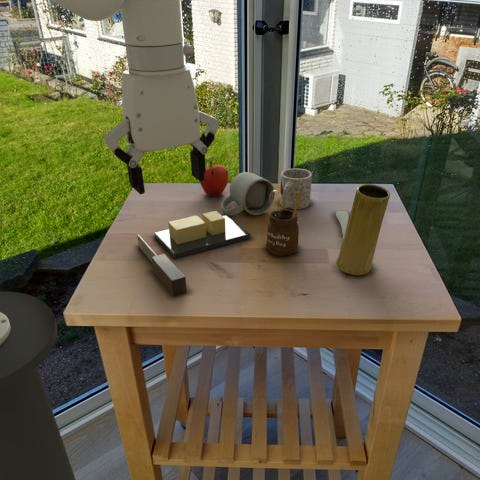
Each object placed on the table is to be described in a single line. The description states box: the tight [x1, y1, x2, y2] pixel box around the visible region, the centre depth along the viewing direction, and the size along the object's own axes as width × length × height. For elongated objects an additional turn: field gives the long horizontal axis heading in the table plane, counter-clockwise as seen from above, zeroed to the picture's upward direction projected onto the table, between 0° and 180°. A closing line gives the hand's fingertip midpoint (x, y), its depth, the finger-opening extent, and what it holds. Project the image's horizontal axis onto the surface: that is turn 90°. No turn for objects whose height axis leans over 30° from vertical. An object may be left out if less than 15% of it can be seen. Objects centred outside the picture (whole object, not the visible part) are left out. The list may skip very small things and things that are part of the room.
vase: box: [335, 183, 391, 276], centre depth 83 cm, size 6×6×14 cm
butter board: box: [154, 214, 251, 259], centre depth 97 cm, size 16×10×1 cm, turn 119°
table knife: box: [136, 233, 187, 297], centre depth 87 cm, size 2×19×3 cm, turn 29°
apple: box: [199, 154, 229, 197], centre depth 112 cm, size 8×7×10 cm
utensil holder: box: [265, 189, 303, 257], centre depth 90 cm, size 6×6×12 cm
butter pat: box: [202, 210, 226, 235], centre depth 97 cm, size 3×4×3 cm
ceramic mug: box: [220, 171, 276, 216], centre depth 106 cm, size 11×8×8 cm
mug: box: [279, 167, 313, 210], centre depth 108 cm, size 10×7×7 cm, turn 153°
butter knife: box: [335, 210, 350, 240], centre depth 96 cm, size 1×24×3 cm
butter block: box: [168, 215, 206, 244], centre depth 95 cm, size 6×4×3 cm, turn 119°
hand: (169, 184), depth 75 cm, fingers open, 9 cm apart
